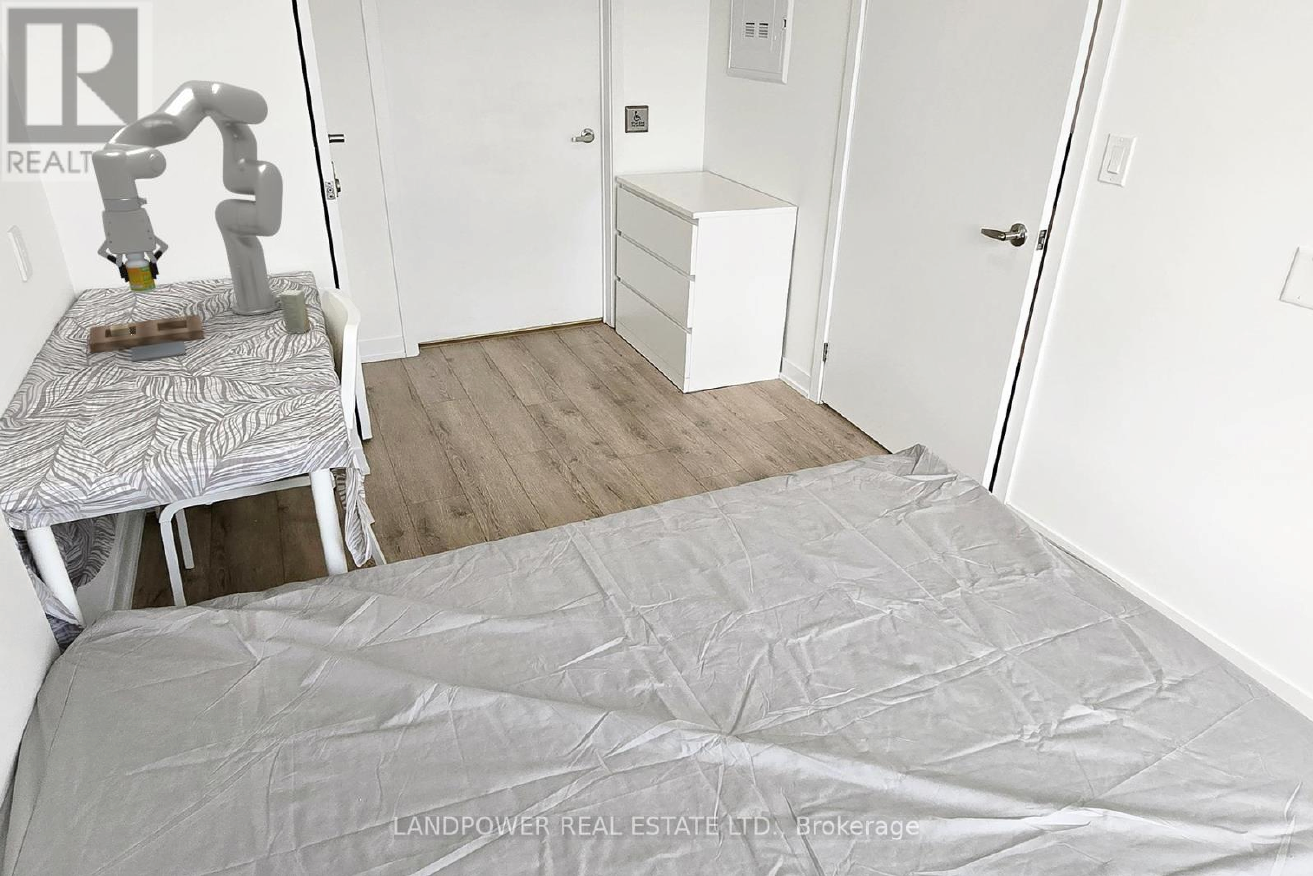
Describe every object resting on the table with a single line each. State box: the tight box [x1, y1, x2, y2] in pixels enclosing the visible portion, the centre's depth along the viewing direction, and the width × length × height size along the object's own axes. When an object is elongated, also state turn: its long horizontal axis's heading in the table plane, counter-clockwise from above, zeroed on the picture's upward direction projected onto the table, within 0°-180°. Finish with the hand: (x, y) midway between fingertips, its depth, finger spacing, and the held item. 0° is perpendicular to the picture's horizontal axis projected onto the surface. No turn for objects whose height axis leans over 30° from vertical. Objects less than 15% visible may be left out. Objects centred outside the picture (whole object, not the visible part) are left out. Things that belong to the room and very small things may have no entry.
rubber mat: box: [131, 341, 187, 363], centre depth 218 cm, size 12×10×1 cm
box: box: [279, 289, 311, 334], centre depth 233 cm, size 5×4×11 cm
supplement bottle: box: [124, 252, 157, 294], centre depth 209 cm, size 5×5×10 cm
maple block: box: [110, 323, 131, 337], centre depth 224 cm, size 4×4×4 cm
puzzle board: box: [88, 314, 206, 354], centre depth 227 cm, size 26×14×2 cm, turn 119°
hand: (140, 278), depth 210 cm, fingers closed on supplement bottle, 5 cm apart
